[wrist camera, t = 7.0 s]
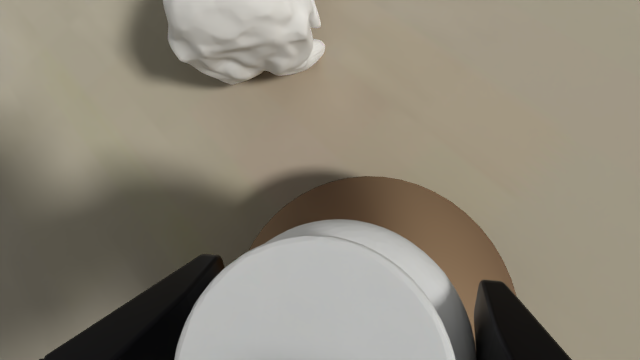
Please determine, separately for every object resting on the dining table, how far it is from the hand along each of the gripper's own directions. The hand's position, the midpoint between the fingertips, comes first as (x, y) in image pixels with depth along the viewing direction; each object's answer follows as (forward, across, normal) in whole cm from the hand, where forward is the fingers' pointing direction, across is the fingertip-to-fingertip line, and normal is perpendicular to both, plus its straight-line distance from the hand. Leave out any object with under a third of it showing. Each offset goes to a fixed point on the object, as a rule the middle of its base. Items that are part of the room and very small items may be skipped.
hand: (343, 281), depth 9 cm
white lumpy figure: (+18, +7, -3) cm, 19 cm away
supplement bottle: (+4, 0, +6) cm, 7 cm away
